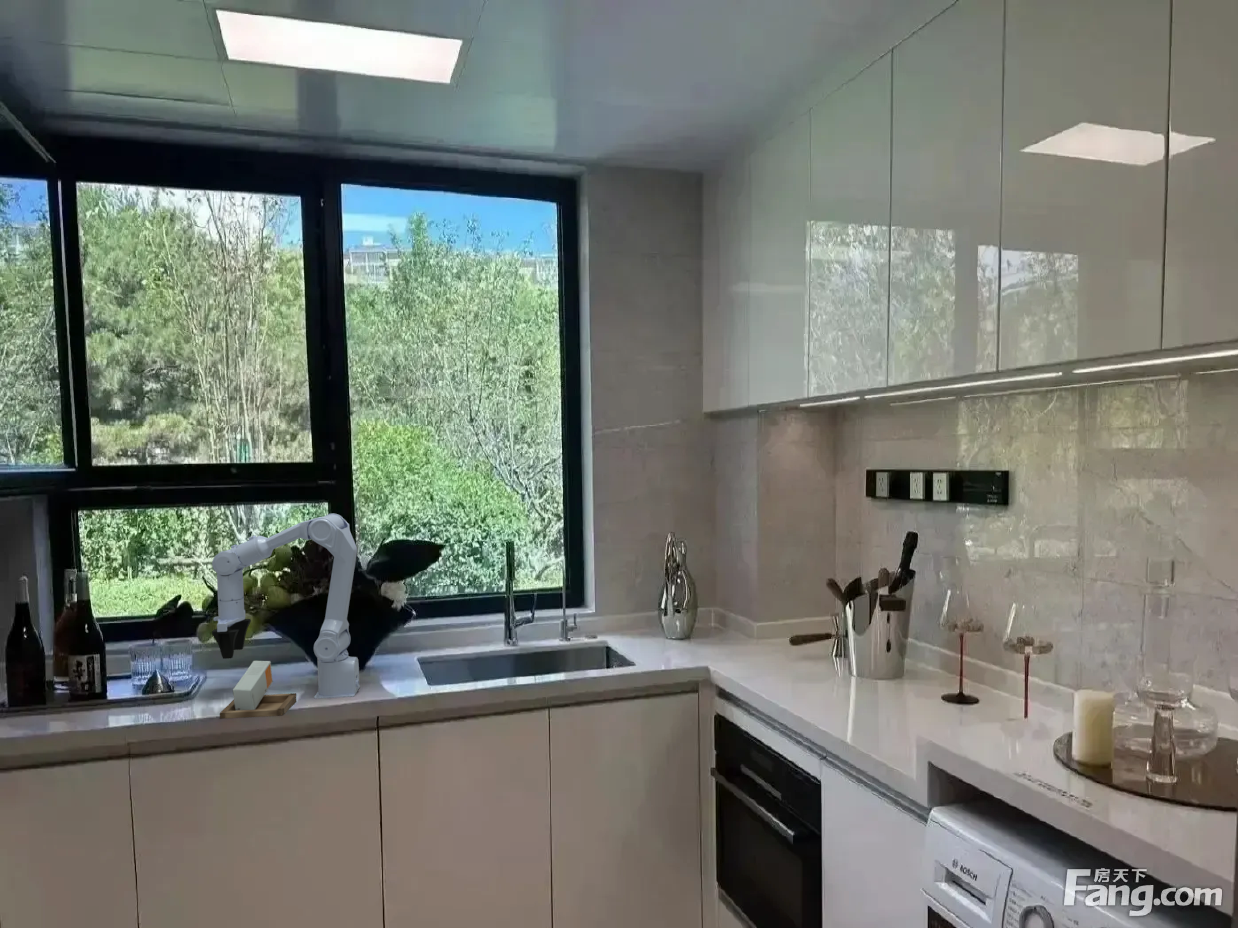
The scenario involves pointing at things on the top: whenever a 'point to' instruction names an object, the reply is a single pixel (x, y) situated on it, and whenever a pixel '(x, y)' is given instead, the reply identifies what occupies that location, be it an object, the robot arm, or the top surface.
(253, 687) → the skincare box
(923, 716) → the top surface
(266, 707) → the tray
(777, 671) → the top surface
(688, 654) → the top surface
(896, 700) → the top surface
